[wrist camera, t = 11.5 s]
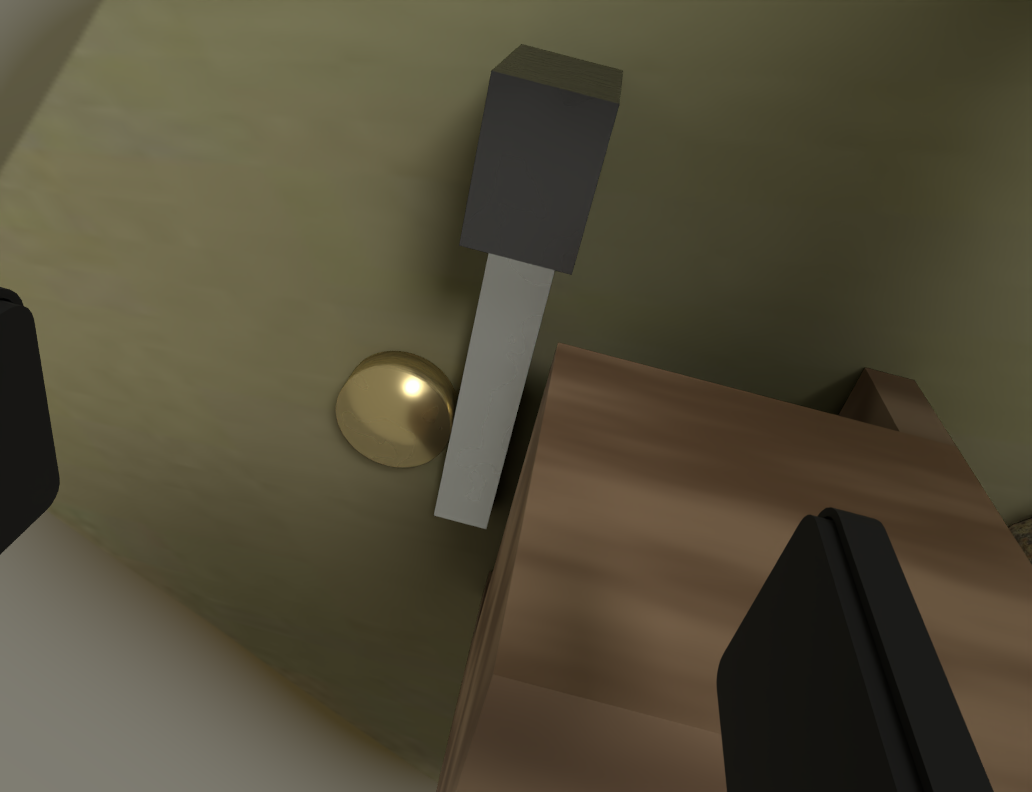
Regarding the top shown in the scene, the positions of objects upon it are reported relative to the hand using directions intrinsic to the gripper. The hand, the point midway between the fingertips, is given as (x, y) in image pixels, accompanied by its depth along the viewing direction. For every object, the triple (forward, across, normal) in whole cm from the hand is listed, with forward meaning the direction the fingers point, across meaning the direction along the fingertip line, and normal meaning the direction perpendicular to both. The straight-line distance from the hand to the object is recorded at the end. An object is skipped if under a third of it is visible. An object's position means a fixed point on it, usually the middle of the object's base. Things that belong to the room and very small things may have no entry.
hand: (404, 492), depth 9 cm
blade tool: (+20, 0, +8) cm, 21 cm away
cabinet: (+20, -9, +15) cm, 26 cm away
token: (+20, +4, +13) cm, 24 cm away
